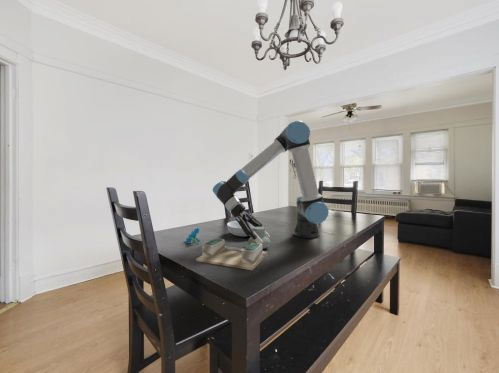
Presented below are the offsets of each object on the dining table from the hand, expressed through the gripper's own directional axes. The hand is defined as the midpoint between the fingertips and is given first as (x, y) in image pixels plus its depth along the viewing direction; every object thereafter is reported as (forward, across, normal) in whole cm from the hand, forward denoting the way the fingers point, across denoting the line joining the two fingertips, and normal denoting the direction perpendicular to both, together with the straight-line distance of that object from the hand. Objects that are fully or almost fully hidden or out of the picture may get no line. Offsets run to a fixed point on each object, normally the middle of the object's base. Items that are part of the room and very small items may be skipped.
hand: (264, 240), depth 114 cm
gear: (-25, +5, -31) cm, 40 cm away
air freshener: (+1, 0, -5) cm, 5 cm away
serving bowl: (-11, -20, -17) cm, 29 cm away
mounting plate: (-4, +17, -9) cm, 20 cm away
